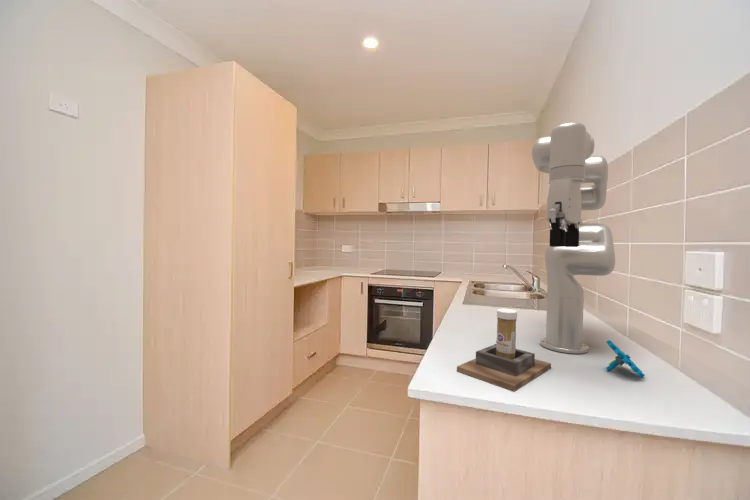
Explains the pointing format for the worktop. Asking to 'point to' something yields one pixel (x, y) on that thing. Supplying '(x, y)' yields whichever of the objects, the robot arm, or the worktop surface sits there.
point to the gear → (622, 360)
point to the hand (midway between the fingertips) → (564, 246)
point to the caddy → (504, 368)
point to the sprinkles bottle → (506, 333)
